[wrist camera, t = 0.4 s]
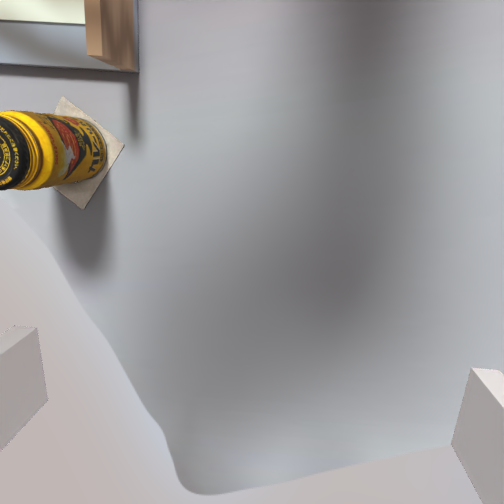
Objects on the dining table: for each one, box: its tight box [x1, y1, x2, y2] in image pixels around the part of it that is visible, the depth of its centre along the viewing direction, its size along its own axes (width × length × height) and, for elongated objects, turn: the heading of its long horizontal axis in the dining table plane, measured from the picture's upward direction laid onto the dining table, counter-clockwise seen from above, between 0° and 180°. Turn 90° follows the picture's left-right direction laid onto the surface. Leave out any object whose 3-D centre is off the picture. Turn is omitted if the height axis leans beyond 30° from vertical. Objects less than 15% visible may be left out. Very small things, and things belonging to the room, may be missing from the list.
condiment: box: [0, 96, 124, 210], centre depth 31 cm, size 7×8×12 cm
